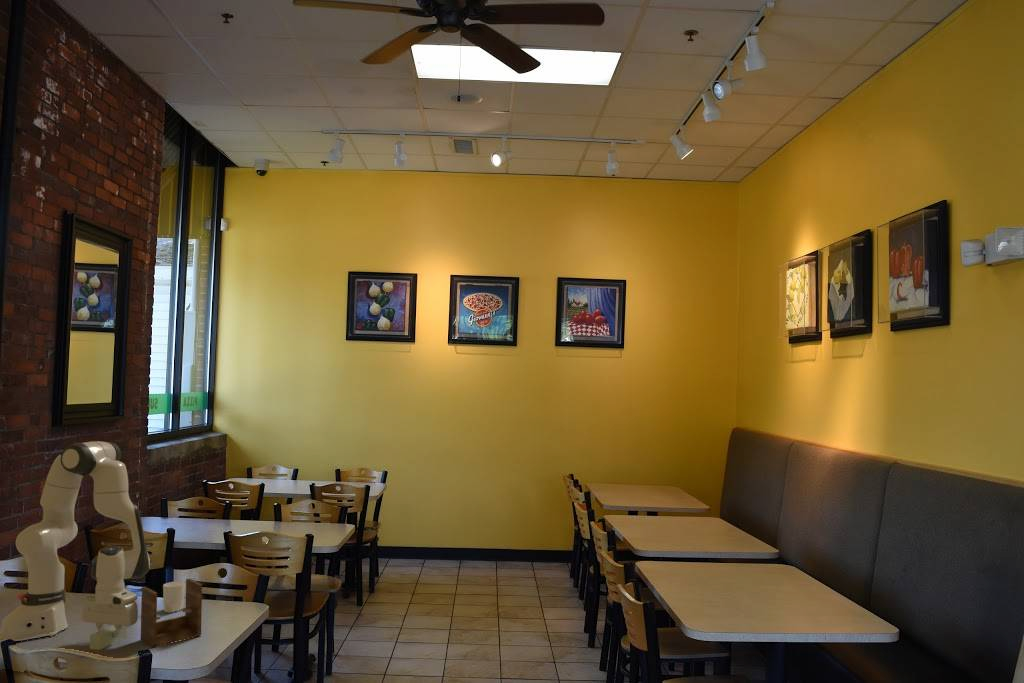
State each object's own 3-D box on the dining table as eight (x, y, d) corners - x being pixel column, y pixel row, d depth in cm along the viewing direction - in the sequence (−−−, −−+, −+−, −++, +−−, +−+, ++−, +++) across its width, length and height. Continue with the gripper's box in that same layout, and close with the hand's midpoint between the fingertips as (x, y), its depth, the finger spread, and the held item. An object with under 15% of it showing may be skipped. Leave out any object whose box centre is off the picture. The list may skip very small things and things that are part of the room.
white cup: (178, 605, 300) (179, 580, 300) (188, 609, 295) (189, 583, 295) (158, 610, 294) (159, 584, 294) (168, 614, 289) (169, 588, 289)
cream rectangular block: (99, 649, 251) (99, 636, 251) (89, 648, 252) (90, 635, 252) (126, 637, 263) (127, 624, 263) (117, 636, 264) (117, 623, 264)
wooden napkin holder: (152, 648, 253) (153, 593, 254) (140, 640, 261) (141, 587, 261) (201, 636, 264) (202, 584, 265) (188, 628, 272) (189, 578, 273)
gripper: (77, 595, 258) (76, 637, 257) (127, 600, 253) (126, 642, 252) (92, 590, 264) (91, 631, 263) (141, 595, 259) (140, 636, 258)
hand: (108, 636), depth 258 cm, fingers closed on cream rectangular block, 4 cm apart
